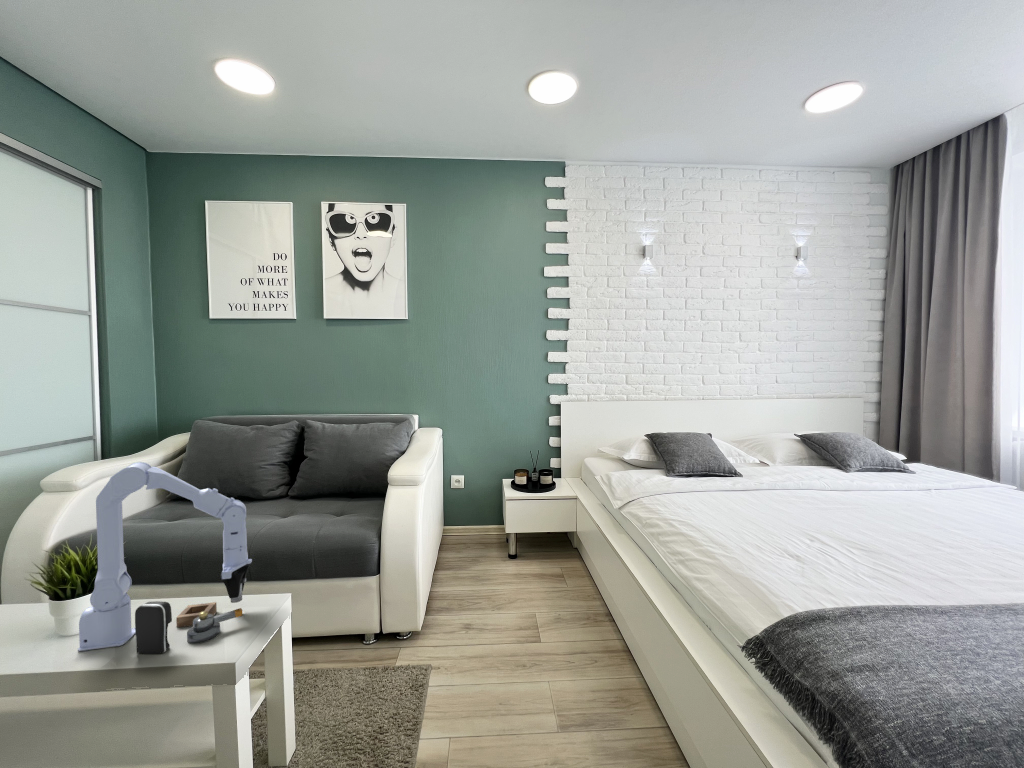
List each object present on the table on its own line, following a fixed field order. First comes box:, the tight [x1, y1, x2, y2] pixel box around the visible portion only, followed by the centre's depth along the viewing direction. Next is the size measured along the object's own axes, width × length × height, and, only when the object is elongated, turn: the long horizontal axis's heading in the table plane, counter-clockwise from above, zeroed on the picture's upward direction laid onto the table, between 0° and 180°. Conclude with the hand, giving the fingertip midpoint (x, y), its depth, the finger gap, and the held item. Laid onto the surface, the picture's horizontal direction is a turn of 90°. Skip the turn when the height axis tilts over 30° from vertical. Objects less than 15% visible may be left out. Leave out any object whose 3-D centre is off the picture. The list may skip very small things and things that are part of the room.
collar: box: [192, 607, 243, 632], centre depth 121 cm, size 4×11×2 cm, turn 131°
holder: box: [175, 601, 218, 628], centre depth 128 cm, size 7×7×3 cm
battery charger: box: [134, 600, 173, 655], centre depth 113 cm, size 7×4×11 cm, turn 86°
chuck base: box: [186, 611, 221, 645], centre depth 119 cm, size 7×7×6 cm
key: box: [230, 577, 247, 604], centre depth 131 cm, size 5×3×6 cm, turn 103°
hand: (236, 594), depth 131 cm, fingers closed on key, 3 cm apart
